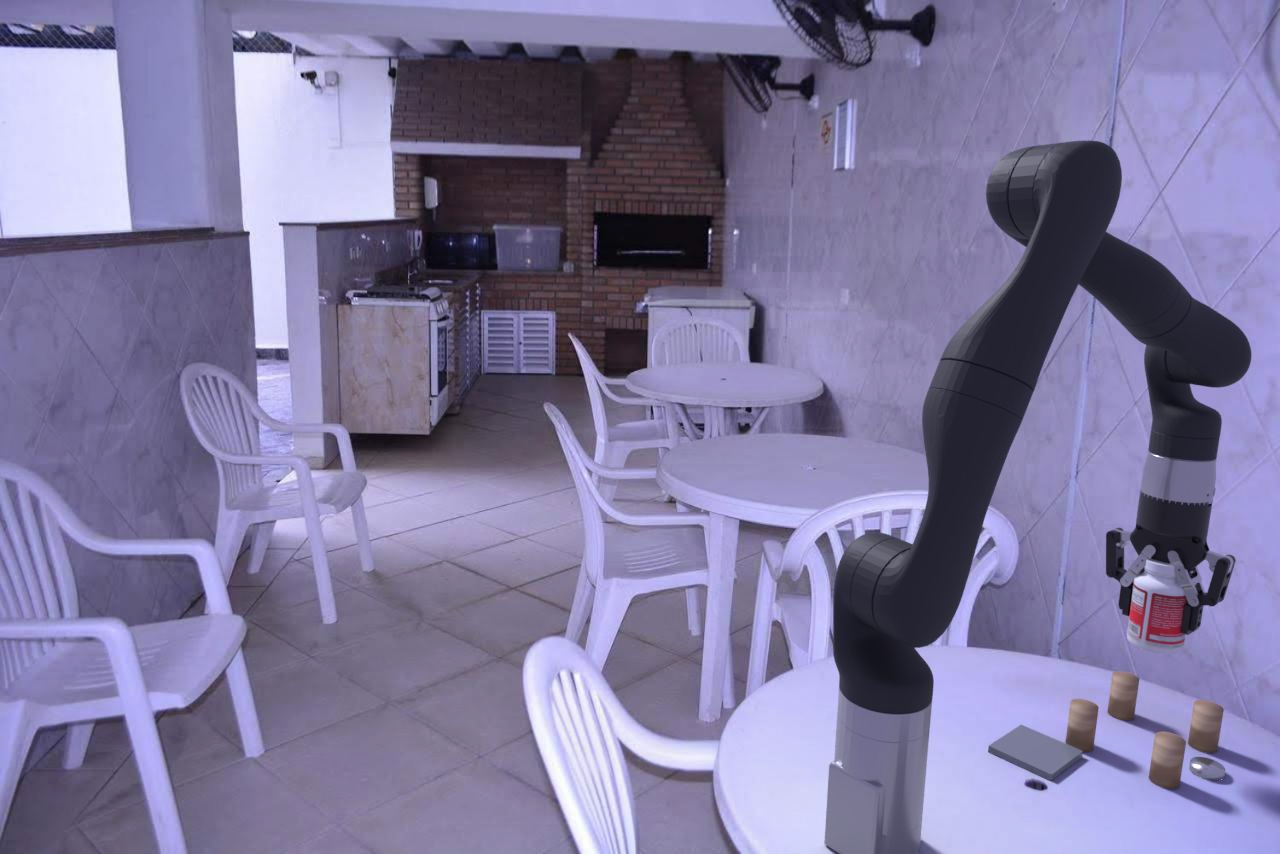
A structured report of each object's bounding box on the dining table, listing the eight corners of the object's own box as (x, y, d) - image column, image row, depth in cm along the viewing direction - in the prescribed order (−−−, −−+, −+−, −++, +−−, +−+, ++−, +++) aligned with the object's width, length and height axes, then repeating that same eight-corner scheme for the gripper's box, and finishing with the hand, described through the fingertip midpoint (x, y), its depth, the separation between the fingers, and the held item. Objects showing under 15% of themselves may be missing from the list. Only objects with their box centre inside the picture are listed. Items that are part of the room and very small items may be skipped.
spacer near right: (1086, 755, 114) (1091, 714, 113) (1060, 743, 116) (1065, 704, 115) (1098, 746, 116) (1103, 706, 115) (1072, 735, 118) (1077, 696, 117)
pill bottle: (1192, 648, 112) (1206, 563, 110) (1166, 660, 109) (1179, 572, 107) (1142, 630, 117) (1153, 548, 115) (1115, 641, 114) (1127, 556, 112)
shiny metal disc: (1217, 786, 108) (1218, 777, 108) (1184, 772, 111) (1185, 763, 110) (1228, 775, 110) (1229, 766, 110) (1195, 762, 113) (1196, 753, 113)
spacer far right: (1128, 723, 121) (1133, 684, 120) (1103, 713, 124) (1108, 675, 123) (1138, 715, 123) (1143, 677, 122) (1113, 705, 126) (1118, 668, 125)
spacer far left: (1211, 756, 114) (1218, 715, 113) (1183, 745, 116) (1189, 705, 115) (1221, 747, 116) (1227, 707, 115) (1193, 736, 118) (1199, 697, 117)
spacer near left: (1173, 792, 106) (1179, 749, 105) (1144, 779, 109) (1150, 737, 108) (1184, 782, 108) (1190, 739, 107) (1155, 770, 111) (1161, 728, 110)
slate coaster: (1050, 780, 108) (1051, 774, 108) (988, 751, 114) (988, 745, 114) (1082, 756, 113) (1082, 751, 113) (1020, 730, 119) (1021, 724, 119)
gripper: (1100, 483, 112) (1084, 612, 115) (1233, 511, 101) (1210, 652, 105) (1127, 474, 117) (1110, 598, 120) (1256, 500, 106) (1234, 635, 109)
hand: (1157, 622), depth 112 cm, fingers closed on pill bottle, 6 cm apart
